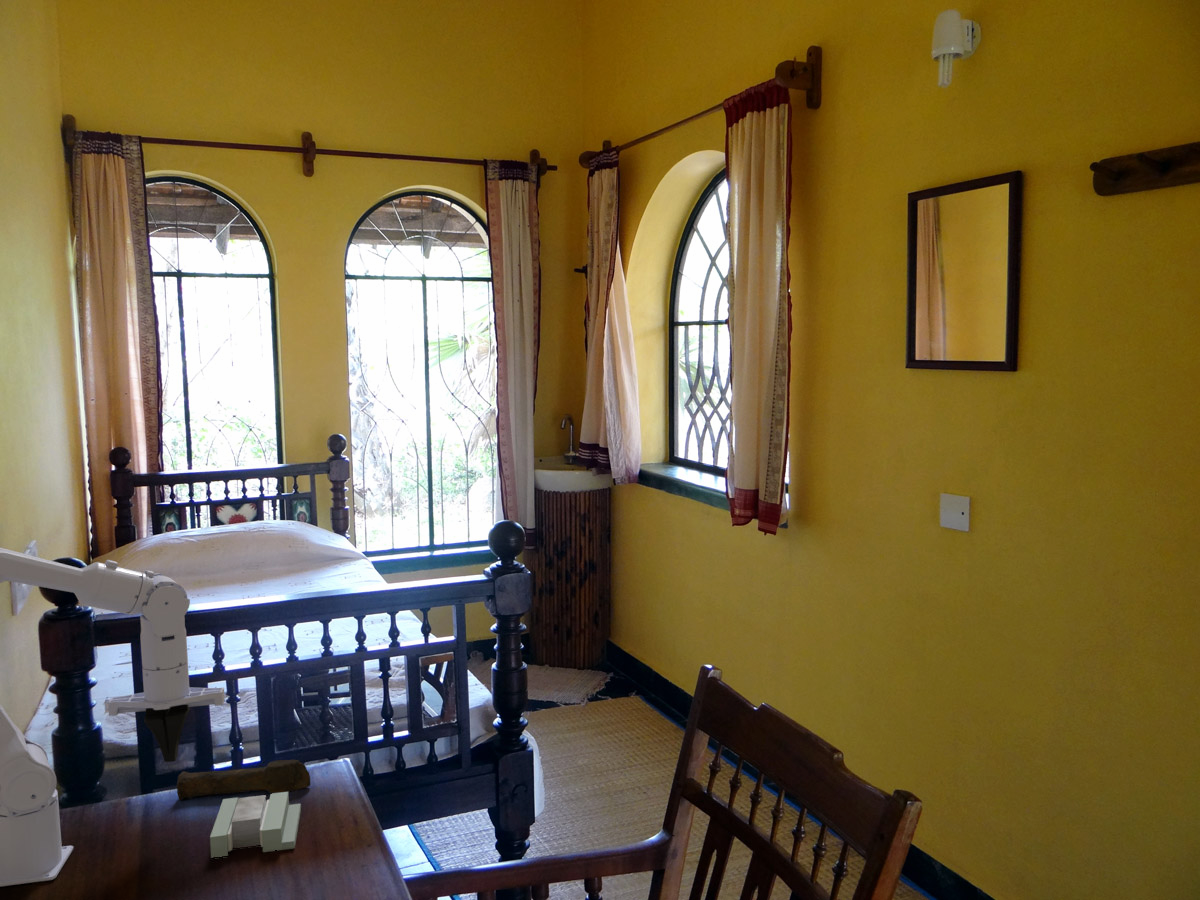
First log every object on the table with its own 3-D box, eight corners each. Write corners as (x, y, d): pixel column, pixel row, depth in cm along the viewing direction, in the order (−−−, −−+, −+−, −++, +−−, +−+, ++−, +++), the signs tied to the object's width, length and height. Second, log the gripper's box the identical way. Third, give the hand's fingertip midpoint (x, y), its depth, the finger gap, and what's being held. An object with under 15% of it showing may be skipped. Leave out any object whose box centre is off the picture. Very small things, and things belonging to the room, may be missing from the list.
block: (233, 850, 125) (231, 821, 125) (240, 825, 132) (238, 798, 132) (261, 846, 126) (259, 818, 126) (267, 822, 133) (265, 795, 132)
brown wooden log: (175, 805, 139) (173, 774, 138) (184, 792, 143) (182, 763, 142) (306, 797, 140) (304, 767, 140) (311, 785, 144) (310, 756, 144)
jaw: (211, 858, 123) (210, 837, 123) (224, 819, 133) (223, 799, 133) (230, 856, 123) (229, 834, 123) (242, 817, 134) (241, 797, 134)
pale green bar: (259, 852, 124) (258, 831, 124) (268, 813, 135) (267, 794, 135) (294, 848, 125) (293, 826, 125) (300, 810, 136) (299, 790, 136)
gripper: (99, 678, 124) (106, 777, 125) (216, 668, 127) (222, 764, 128) (113, 661, 131) (120, 755, 132) (224, 652, 134) (229, 744, 135)
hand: (171, 758), depth 131 cm, fingers closed
